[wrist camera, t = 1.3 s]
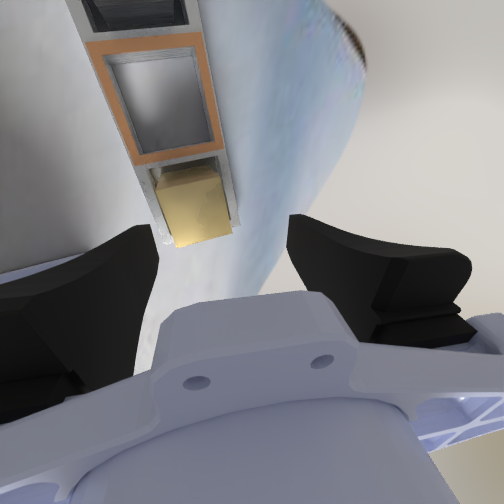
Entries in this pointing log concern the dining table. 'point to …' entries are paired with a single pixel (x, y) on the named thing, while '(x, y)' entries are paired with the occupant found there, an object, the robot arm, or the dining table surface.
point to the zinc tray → (102, 57)
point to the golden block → (193, 205)
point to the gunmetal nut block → (135, 12)
